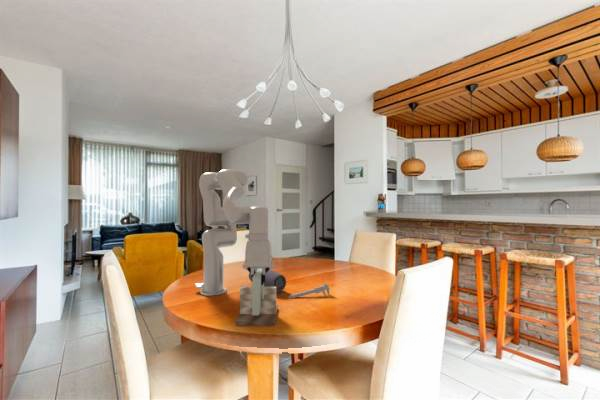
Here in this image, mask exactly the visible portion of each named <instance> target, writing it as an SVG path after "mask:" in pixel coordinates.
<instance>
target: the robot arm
mask: <svg viewBox="0 0 600 400" xmlns="http://www.w3.org/2000/svg"><path fill="white" fill-rule="evenodd" d="M198 181H199V182H198V186H199V191H200V194H201V198H202V205H203V207H202V208H203V221H204V224H205V226H207V227H223V226H224V228H210V229H206V230H204V231H203V233H202V234H201V243H202V249H203V282H202V283H195V289H200V291H199V293H200V295H202V296H205V297H206V296H209V297H214V295H215V296H220V295H224V294H225V293H226V292H227V287H225V286H224V255H223V252H222V251H221V250H220V248H225V247H226V248H228V247H233V246H234V245H236V243H237V241H238V233H237V225H248V234H245V239H248V240H247V241H246V245H245V250H244V251H245V253H244V262H243V264H242V268H243V269H244V270H246V271H248V273H249V272H250V273H251V275H252V277H253V276H254V274H255V267H260V268H262V275H261V285H263V284H264V282H265V274H266V273H267V272H268V271H269V270H273V269H274V268H275V264H274V262H273V260H272V259H273V258H272V246H271V245H272V244H271V241H270V240H269V209H268V207H267V206H257V205H235V203H236V202H238V201H240V200H241V199H242V198H243V197H244V194H245V189H244V188H245V187H246V186H247V184H248V181H249V180H248V176H247V174H246V173H245V172H244V171H243V170H240V169H239V170H238V169H237V170H236V169H230V168H229V169H228V168H226V169H225V168H224V169H221V170H220V171H218V172H213V171H212V172H211V171H210V172H204V173H202V174H201V175H200V177H199V180H198ZM215 190H217V191H219V190H221V191H222V192H223V194H224V198H223V202H222V205H221V197H220V196H219V194H218V193H217V191H215Z"/></svg>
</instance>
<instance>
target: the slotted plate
mask: <svg viewBox="0 0 600 400" xmlns="http://www.w3.org/2000/svg"><path fill="white" fill-rule="evenodd" d="M261 275H262V269H257V271H256V273H255V274H254V276H253V277H252V281H251V283H252V285H251V287H252V315H259V314H260V311H261V299H264V284H263V285H261Z"/></svg>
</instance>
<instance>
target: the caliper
mask: <svg viewBox="0 0 600 400" xmlns="http://www.w3.org/2000/svg"><path fill="white" fill-rule="evenodd" d="M321 292H322V293H323V295H324V296H326V293H327V296H330V286H329V284H327V282H325V283H323V285H321V286H316V287H314V288H312V289H308V290H305V291H301V292H297V293H294V294H290V296H287V299H296V298H300V297H304V296H307V295H310V294H314V293H315V294H316V295H317V294H319V293H321Z"/></svg>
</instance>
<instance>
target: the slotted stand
mask: <svg viewBox="0 0 600 400" xmlns="http://www.w3.org/2000/svg"><path fill="white" fill-rule="evenodd" d="M277 313H278V305H277V291H276V287H264V299H261V311H260V314H259V315H252V286H248V285H247V286H243V285H242V286H241V287H239V315H238V317H237V319H236V321H235V325H236V326H275V323H276V318H277Z"/></svg>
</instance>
